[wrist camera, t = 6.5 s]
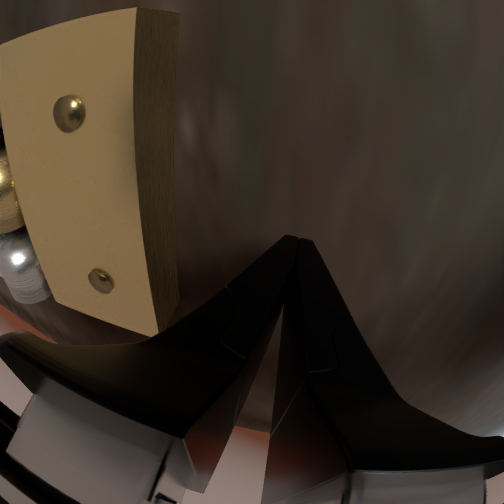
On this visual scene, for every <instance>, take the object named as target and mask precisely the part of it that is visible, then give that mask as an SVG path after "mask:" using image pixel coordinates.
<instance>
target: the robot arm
mask: <svg viewBox="0 0 504 504" xmlns="http://www.w3.org/2000/svg"><path fill="white" fill-rule="evenodd" d="M284 300H285V302H284ZM283 304H284V307H283ZM282 307H283V317H282V328H281V339H280V350H279V360H278V370H277V380H276V389H275V398H274V407H273V416H272V424H271V433H270V440H269V449H268V456H267V464H266V471H265V479H264V485H263V493H262V499H261V504H487V479H489V478H492V477H494V476H496V475H498V474H500V473H502V472H504V437H502V436H491V437H479V436H474V435H471V434H467V433H465V432H462V431H460V430H458V429H456V428H454V427H452V426H450V425H448V424H446V423H444V422H442V421H440V420H438V419H436V418H434V417H432V416H430V415H428V414H426V413H424V412H422V411H420V410H418V409H417V408H415V407H413V406H411V405H409V404H408V403H407V402H405V401H404V400H403V399H402V398H401V397H400V396H399V395H398V393H397V392H396V391H395V389H394V388H393V386H392V385H391V383H390V381H389V380H388V378H387V376H386V375H385V373H384V372H383V370H382V368H381V367H380V365H379V364H378V362H377V360H376V359H375V357H374V356H373V354H372V352H371V351H370V349H369V347H368V346H367V344H366V342H365V341H364V339H363V337H362V335H361V333H360V331H359V329H358V328H357V326H356V324H355V322H354V320H353V318H352V316H350V315H351V314H350V312H349V310H348V308H347V306H346V304H345V302H344V300H343V298H342V296H341V294H340V292H339V290H338V288H337V286H336V284H335V282H334V280H333V278H332V276H331V274H330V272H329V270H328V269H327V267H326V265H325V263H324V261H323V259H322V257H321V255H320V253H319V252H318V250H317V248H316V246H315V244H314V242H313V241H312V240H309V239H304V238H300V239H298V237H295V236H291V235H284V236H283V237H282V238H281V239H280V240H279V241H277V242H276V243H275V244H274V245H273V246H272V247H270V248H269V249H268V250H267V251H266V252H265V253H263V254H262V255H261V256H260V257H259V258H258V259H256V260H255V261H254V262H253V263H252V264H251V265H250V266H248V267H247V268H246V269H245V270H244V271H243V272H241V273H240V274H239V275H238V276H237V277H235V278H234V279H233V280H232V281H231V282H230V283H228V284H227V285H226V287H224V288H222V289H221V290H220V291H219V292H218V293H217V294H215V295H214V296H213V297H212V298H210V299H209V300H208V301H207V302H205V303H204V304H202V305H201V306H199V307H198V308H197V309H195V310H194V311H192V312H191V313H189V314H188V315H186V316H184V317H183V318H181V319H180V320H178V321H176V322H175V323H173V324H172V325H170V326H169V327H167V328H165V329H164V330H162V331H161V332H159V333H157V334H156V335H154V336H152V337H150V338H148V339H146V340H143V341H140V342H137V343H129V344H111V345H84V346H67V345H59V344H55V343H51V342H48V341H46V340H43V339H42V338H40V337H38V336H36V335H35V334H32V333H31V332H28V331H18V332H10V333H7V334H4V335H2V336H0V357H1V359H2V360H3V361H4V362H5V363H6V364H7V366H8V367H9V368H10V369H11V370H12V371H13V373H14V374H15V375H16V376H17V377H18V378H19V379H20V380H21V382H22V383H23V384H24V385H25V386H26V387H27V388H28V389H29V390H30V391H31V392H32V393H33V396H32V397H31V399H30V401H29V403H28V404H27V406H26V408H25V409H24V411H23V413H22V415H21V417H20V416H18V415H17V414H16V413H14V412H13V411H12V410H10V409H9V408H8V407H7V406H6V405H4V404H3V403H2V402H1V401H0V504H181V502H182V499H183V496H184V493H185V490H186V489H190V490H193V491H196V492H199V493H204V492H205V489H206V487H207V485H208V483H209V481H210V479H211V476H212V475H213V472H214V470H215V468H216V466H217V464H218V462H219V459H220V457H221V455H222V453H223V451H224V448H225V446H226V444H227V442H228V440H229V437H230V435H231V433H232V429H233V428H234V426H235V424H236V421H237V419H238V417H239V414H240V412H241V410H242V407H243V405H244V403H245V400H246V398H247V396H248V393H249V391H250V388H251V386H252V384H253V381H254V379H255V376H256V374H257V372H258V369H259V367H260V364H261V362H262V359H263V357H264V354H265V352H266V349H267V347H268V344H269V342H270V339H271V337H272V334H273V331H274V329H275V326H276V324H277V321H278V318H279V316H280V313H281V310H282ZM503 504H504V503H503Z"/></svg>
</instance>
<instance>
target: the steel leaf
mask: <svg viewBox="0 0 504 504" xmlns="http://www.w3.org/2000/svg"><path fill="white" fill-rule="evenodd" d="M0 128H2V120H1V113H0ZM0 141H2V138H1V132H0ZM0 276H1V277H3V278H4V280H5V282H6V284H7V286H8V288H9V290H10V292H11V294H12V296H13V297H14V299H15V300H17V301H18V302H20V303H23V304H34V303H38V302H40V301H43V300H45V299H46V298H48V297H49V296H51V295H52V292H51V289H50V287H49V285H48V283H47V280H46V278H45V275H44V273H43V271H42V268H41V266H40V263H39V261H38V258H37V255H36V253H35V250H34V247H33V245H32V242H31V239H30V236H29V233H28V230H27V227H26V224H25V225H24V226H22V227H20V228H18V229H16V230H13V231H11V232H8V233H4V234H0Z"/></svg>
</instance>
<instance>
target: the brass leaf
mask: <svg viewBox="0 0 504 504" xmlns="http://www.w3.org/2000/svg"><path fill="white" fill-rule="evenodd" d="M179 23H180V13H176V12H170V11H163V10H156V9H147V8H138V7H136V8H129V9H122V10H117V11H111V12H106V13H101V14H96V15H91V16H87V17H83V18H79V19H75V20H71V21H67V22H64V23H60V24H57V25H54V26H50V27H47V28H44V29H41V30H38V31H35V32H32V33H30V34H27V35H24V36H21V37H19V38H16V39H14V40H11V41H9V42H6V43H4V44H2V45H0V113H1V120H2V127H3V134H4V140H2V141H0V234H4V233H8V232H11V231H13V230H16V229H18V228H20V227H22V226H24V225H25V224H26V227H27V230H28V233H29V236H30V239H31V242H32V245H33V247H34V250H35V253H36V255H37V258H38V261H39V263H40V266H41V268H42V271H43V273H44V275H45V278H46V280H47V283H48V285H49V287H50V289H51V292H52V294H53V296H54V298H55V301H56V302H58V303H60V304H63V305H65V306H67V307H70V308H72V309H75V310H77V311H80V312H82V313H85V314H87V315H90V316H93V317H95V318H98V319H101V320H103V321H106V322H109V323H111V324H114V325H117V326H120V327H123V328H126V329H128V330H131V331H134V332H137V333H140V334H143V335H146V336H150V337H152V336H154V335H156V334H157V333H159V332H161V331H162V330H164V329H165V328H166V327H167V325H168V323H169V321H170V319H171V317H172V315H173V313H174V311H175V309H176V307H177V304H178V302H179V300H180V293H179V280H178V265H177V249H176V229H175V202H174V107H175V81H176V62H177V47H178V34H179Z"/></svg>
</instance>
